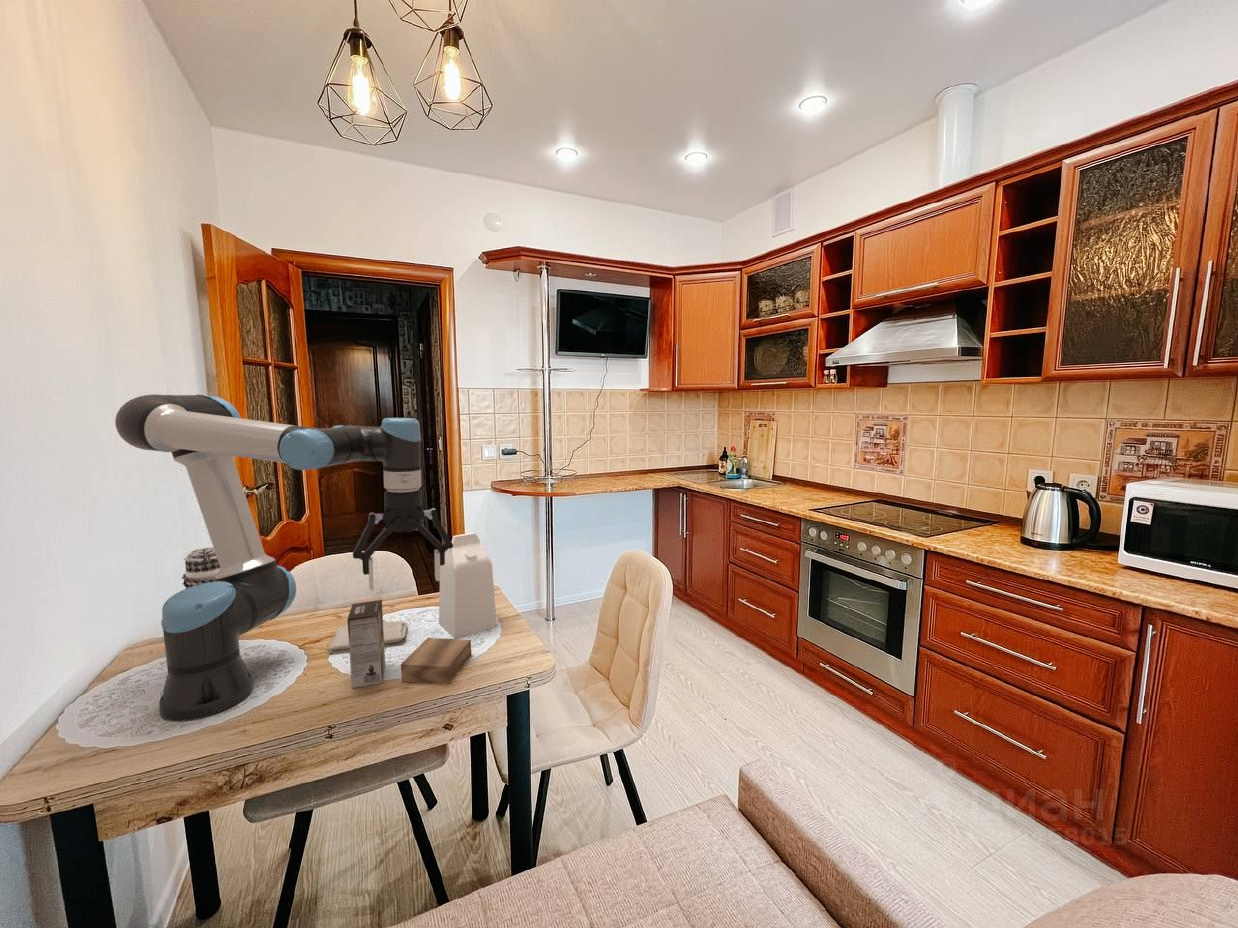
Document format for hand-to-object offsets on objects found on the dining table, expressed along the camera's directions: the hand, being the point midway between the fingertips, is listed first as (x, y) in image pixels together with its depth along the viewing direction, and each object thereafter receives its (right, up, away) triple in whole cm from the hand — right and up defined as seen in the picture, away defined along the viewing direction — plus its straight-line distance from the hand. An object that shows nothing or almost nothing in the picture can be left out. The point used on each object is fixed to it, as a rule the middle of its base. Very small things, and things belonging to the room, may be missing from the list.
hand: (405, 583), depth 113 cm
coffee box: (-9, -22, +3) cm, 24 cm away
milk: (+5, -19, +29) cm, 35 cm away
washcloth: (-18, -20, +21) cm, 34 cm away
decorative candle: (-56, -20, +17) cm, 62 cm away
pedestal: (+5, -21, +6) cm, 23 cm away
